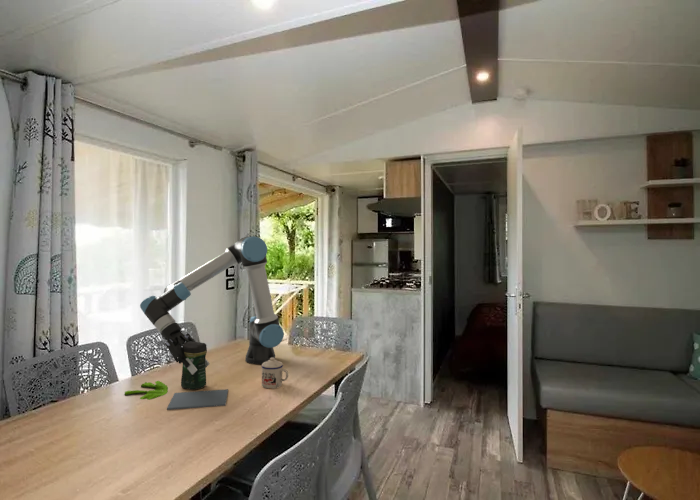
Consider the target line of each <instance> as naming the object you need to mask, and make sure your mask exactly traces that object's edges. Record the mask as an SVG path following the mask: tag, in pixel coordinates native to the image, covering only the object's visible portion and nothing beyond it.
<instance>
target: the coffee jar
mask: <svg viewBox="0 0 700 500" xmlns="http://www.w3.org/2000/svg"><path fill="white" fill-rule="evenodd" d="M185 342H186V341H185ZM182 349H183V351H184V354H185V357H186V358H189V360H190V361H191V362H192V363H193V365H194V366H195V367H196V368H197V371H196V372H195V373H194V374H193V375H192V374H191V373H190V371H189V370H188V369H187V368H186V367H185V366H184V364H183V363H182V370H181V379H180V381H181V382H180V387H182V388H183V389H187V390H198V389H199V390H200V389H203V388H204V387H205V386H206V385H207V371H206V368H207V367H206V368H205V358H206V356H207V353H208V352H207V351H208V350H207V349H208V348H207V343H205V342H199V341H196V342H192V341H190V342H186V343H184V344H183V346H182Z"/></svg>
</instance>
